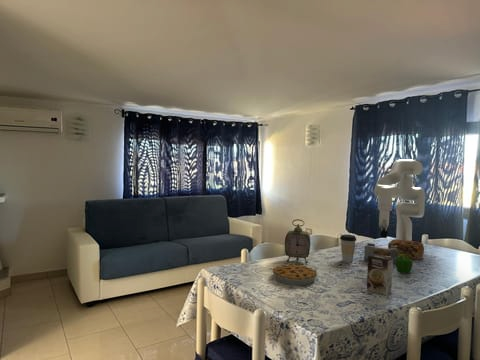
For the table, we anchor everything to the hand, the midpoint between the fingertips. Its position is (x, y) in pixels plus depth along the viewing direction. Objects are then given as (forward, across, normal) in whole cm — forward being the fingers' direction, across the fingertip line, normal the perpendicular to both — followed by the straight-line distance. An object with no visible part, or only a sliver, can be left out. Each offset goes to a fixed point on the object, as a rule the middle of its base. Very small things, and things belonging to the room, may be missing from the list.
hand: (384, 235), depth 199 cm
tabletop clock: (+14, +27, -45) cm, 54 cm away
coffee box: (+14, +54, +1) cm, 55 cm away
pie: (+14, +56, -38) cm, 69 cm away
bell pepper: (+15, +19, +11) cm, 26 cm away
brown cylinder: (+9, +1, 0) cm, 9 cm away
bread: (+16, -20, +12) cm, 28 cm away
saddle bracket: (+15, +1, +5) cm, 16 cm away
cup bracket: (+15, +1, -7) cm, 17 cm away
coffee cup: (+15, +11, -19) cm, 27 cm away
